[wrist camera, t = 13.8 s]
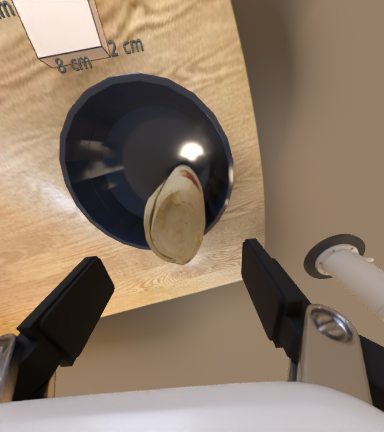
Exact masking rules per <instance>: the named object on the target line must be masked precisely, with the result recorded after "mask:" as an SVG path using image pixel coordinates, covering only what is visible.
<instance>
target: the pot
mask: <svg viewBox="0 0 384 432" xmlns="http://www.w3.org/2000/svg"><path fill="white" fill-rule="evenodd" d="M59 160H60V165H61V169H62V173H63V177H64V181H65V184H66V187H67V188H68V190H69V192H70V194H71V196H72V198H73V200H74V202H75V204H76V206H77V207H78V208H79V209H80V210H81V212H82V213H83V214H84V215H85V216H86V218H87V219H88V220H89V221H90V222H91V223H92V224H93V225H94V226H96V227H97V228H98V229H99V230H101V231H102V232H103V233H104V234H106V235H107V236H109V237H111V238H113V239H115V240H117V241H119V242H121V243H123V244H126V245H129V246H132V247H136V248H139V249H146V250H151V248H150V246H149V244H148V242H147V241H146V236H145V229H144V213H145V207H146V204H147V202H148V199H149V198H150V197H151V196H152V195H153V193H154V192H155V191H156V189H157V188H158V187H159V185H160V184H161V183H162V182H163V181H164V180H165V179H166V178H167V177H169V176H170V174H171V173H172V172H173V170H174V169H175V168H176V167H177V166H179V165H186V166H188V167H190V168H191V169H192V170H193V171H194V173H195V174H196V176H197V178H198V180H199V182H200V184H201V186H202V191H203V198H204V207H205V229H204V235H205V234H207V233H208V231H209V230H210V229H211V228H212V227H213V226H214V225H215V224H216V223H217V222H218V221H219V219H220V218H221V216H222V214H223V212H224V211H225V209H226V207H227V205H228V202H229V198H230V195H231V191H232V187H233V158H232V154H231V150H230V146H229V142H228V139H227V136H226V135H225V133H224V131H223V129H222V127H221V126H220V124H219V122H218V120H217V118H216V116H215V115H214V113H213V112H212V111H211V110H210V109H209V108H208V107H207V106H206V105H205V104H204V103H203V102H202V101H201V100H200V99H199V98H198V97H197V96H196V95H195V94H194V93H193V92H191V91H189V90H187V89H185V88H184V87H182V86H180V85H178V84H177V83H175V82H173V81H171V80H170V79H167V78H163V77H158V76H153V75H148V74H143V73H131V74H124V75H117V76H110V77H108V78H106V79H105V80H103V81H101V82H99V83H97V84H96V85H94V86H92V87H90V88H89V89H87V90H86V91H84V93H83V94H82V95H81V96H80V98H79V99H78V100H77V101H76V102H75V104H74V105H73V106H72V107H71V109H70V110H69V111H68V114H67V117H66V120H65V123H64V126H63V129H62V131H61V134H60V155H59ZM204 235H203V236H204Z"/></svg>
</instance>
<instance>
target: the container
mask: <svg viewBox="0 0 384 432" xmlns="http://www.w3.org/2000/svg"><path fill="white" fill-rule="evenodd" d="M11 1H12V3H13V5H14V7H15V9H16V12H17V14H18V16H19V18H20V20H21V23H22V25H23V27H24V29H25V31H26V34H27V36H28V38H29V40H30V42H31V45H32V47H33V49H34V51H35V54H36V56H37V58H38V59H39V60H40V61H42V62H44V63H45V64H47V65H49V66H50V67H52V68H55V67H58V70H59V72H61V73H63V74H64V73H66V68H65V67H64V66H66V65H71V66H72V68H73V69H74V70H76V71H79V70H80V69H81V70H83V68H82V65H81V63H82V62H83V63H84V66H85V68H86V69H88V68H87V65H86V62H87V61H88V63H89V66H90V68H92V65H91V62H90V61H92V60H98V59H103V58H108V57H111V56H112V57H114V56H119V55H118V53H115V50H116V45H115V43H114V41H112V40H110V41H108V43H109V45H110V44H111V43H113V45H114V48H113V51H112V54H111V56H110V53H109V49H108V46H107V43H106V39H105V36H104V32H103V29H102V25H101V22H100V18H99V15H98V11H97V8H96V4H95V1H94V0H11ZM6 5H8V7H9V9H10V11H11V13H12V15H13V16H15V13H14V11H13V9H12V7H11V5H10V4H9V3H8V2H7V1H3V4H2V3H1V2H0V14H1V16H2V17H3V18H5V16H4V14H3V12H2V10H1V6H2V7H3V9H4V11H5V13H6V15H7V16H8V17H10V15H9V13H8V11H7V9H6ZM1 16H0V19H1ZM138 42H140V44H141V49H142V51H144V50H143V46H142V42H141V40H140V39H137V40H136V41H135V40H132V42H131V41H130V44H131V48H132V52H133V53H134V49H133V43H135V44H136V48H137V52H139V50H138V45H137V43H138ZM126 44H129V42H128V41H126V42H124V44H123V48H124V50H125V52H126V53H127V54H130V53H131V51H126V48H125V46H126ZM114 53H115V54H114ZM76 63H79V66H80V69H79V68H77V69H76V68H74V65H73V64H76ZM61 67H63V69H64V71H61V69H60V68H61Z"/></svg>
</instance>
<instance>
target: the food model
mask: <svg viewBox="0 0 384 432" xmlns="http://www.w3.org/2000/svg"><path fill="white" fill-rule="evenodd" d="M144 229H145V236H146V241H147V242H148V244H149V246H150V248H151V250H152V251H153V252H154V253H155V254H156V255H157V256H158V257H159V258H161V259H163V260H165V261H167V262H170V263H175V264H179V265H184V264H187V263H188V262H189V261H190V260H191V259H193V257H194V256H195V255H196V253H197V251H198V250H199V248H200V245H201V242H202V239H203V235H204V229H205V207H204V198H203V191H202V186H201V184H200V182H199V180H198V178H197V176H196V174H195V173H194V171H193V170H192V169H191V168H190V167H188V166H186V165H179V166H177V167H176V168H175V169H174V170H173V172H172V173H171V174H170V176H169V177H167V178H166V179H165V180H164V181H163V182H162V183H161V184H160V185H159V187H158V188H157V189H156V191H155V192H154V193H153V195H152V196H151V197H150V198H149V199H148V202H147V204H146V207H145V213H144Z"/></svg>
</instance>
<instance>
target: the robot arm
mask: <svg viewBox="0 0 384 432" xmlns="http://www.w3.org/2000/svg"><path fill="white" fill-rule="evenodd" d="M373 261H374V259H373V258H372V257H366V258H364V257H362V256H361V255H359V252H358V250H357V248H355V247H354V246H352V245H349V244H339V245H335V246H332V247H330V248H328V249H327V250H325V251H324V252H323V253H321V254H320V256H319V257H318V258H317V260H316V263H315V268H316V269H317V271H318V272H320V273H321V274H323V275H330V276H332V277H333V278H334V279H335V280H336V281H337V282H339V283H340V284H341V285H342V286H343V287H344V288H346V289H347V290H348V291H349V292H350V293H351V294H353V296H355V297H356V298H357V299H358V300H359V301H360V302H362V303H363V304H364V305H365V306H366V307H367V308H368V309H370V310H371V311H372V312H373V313H374V314H375V315H377V316H378V317H379V318H380V319H381V320H382V321H383V322H384V271H383V270H381V269H379V268H378V267H376V266H375V264H374V263H372V262H373ZM241 274H242V278H243V281H244V283H245V285H246V287H247V290H248V292H249V295H250V297H251V299H252V301H253V304H254V306H255V309H256V311H257V313H258V316H259V318H260V320H261V323H262V325H263V327H264V330H265V332H266V334H267V336H268V338H269V340H273V342H274V344H275V347H276V348H282V347H283V348H284V350H285V352H286V355H287V356H288V357H289V367H288V373H287V381H286V382H282V381H281V382H280V381H271V382H253V383H233V384H219V385H205V386H192V387H179V388H166V389H154V390H141V391H129V392H117V393H105V394H92V395H81V396H69V397H58V398H55V380H56V379H55V378H56V369H57V367H58V365H60V366H61V367H67V366H72V365H73V363H74V361H75V360H76V358H77V357H78V356H79V355H80V354H81V352H82V350H83V348H84V347H85V345H86V343H87V341H88V339H89V337H90V335H91V333H92V331H93V330H94V328H95V326H96V324H97V322H98V320H99V318H100V317H101V315H102V313H103V311H104V309H105V307H106V305H107V303H108V302H109V300H110V298H111V296H112V294H113V292H114V289H115V287H114V284H113V282H112V280H111V278H110V276H109V275H108V273H107V271H106V269H105V267H104V265H103V263H102V261H101V259H100V258H98V257H97V256H92V257H86V258H84V259H83V260H82V261H81V262H80V263H79V264H78V265H77V266H76V267H75V268H74V269H73V270H72V272H71V273H70V274H69V275H68V276H67V277H66V278H65V279H64V280H63V281H62V282H61V283H60V284H59V285H58V286H57V287H56V288H55V289H54V290H53V291H52V292H51V293H50V294H49V295H48V296H47V297H46V298H45V299H44V300H43V301H42V302H41V303H40V304H39V305H38V306H37V307H36V308H35V310H34V311H33V312H32V313H31V314H30V315H29V316H28V317H27V318H26V319H25V320H24V321H23V322H22V323H21V324H20V325H19V326H18V327H17V328H16V329H17V330H18V331H19V332H21V333H20V334H19V335H18V336H16V335H14V334H6V335H2V336H0V432H384V347H382V346H380V345H379V344H377V343H375V342H372V341H371V340H369V339H367V338H365V337H363V336H361V335H359V334H358V333H357V330H356V329H355V327H354V326H353V325H352V323H351V322H350V321H349V320H348V319H347V318H346V317H345V316H343V315H342V314H340V313H339V312H337V311H336V310H334V309H332V308H330V307H327V306H324V305H320V304H311V303H310V301H309V300H308V299H307V298H306V296H305V295H304V294H303V293H302V292H301V291H300V289H299V288H298V287H297V285H296V284H295V283H294V282H293V281H292V279H291V278H290V277H289V276H288V274H287V273H286V272H285V270H284V269H283V268H282V267H281V266H280V264H279V263H278V262H277V261H276V260H275V259H273V258H271V257H270V256H269V255H268V253H267V252H266V251H265V250H264V248H263V247H262V246H261V244H260V243H259V242H258V241H257V239H255V238H254V239H246V240H245V242H243V247H242V268H241Z"/></svg>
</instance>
